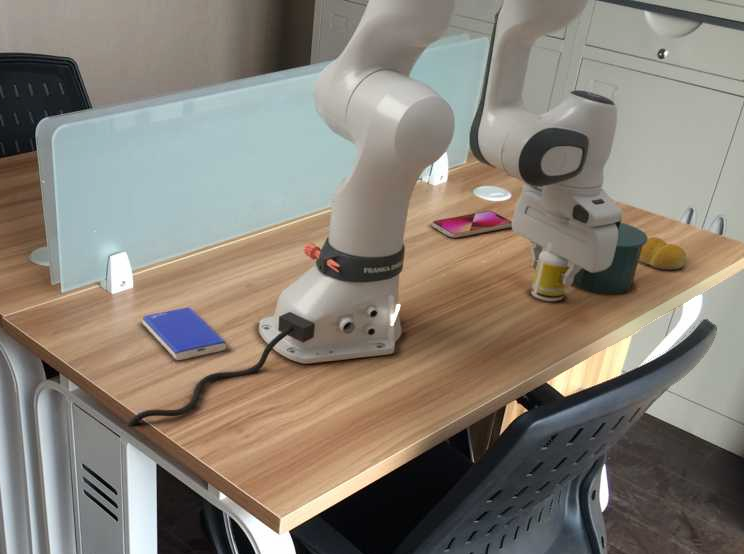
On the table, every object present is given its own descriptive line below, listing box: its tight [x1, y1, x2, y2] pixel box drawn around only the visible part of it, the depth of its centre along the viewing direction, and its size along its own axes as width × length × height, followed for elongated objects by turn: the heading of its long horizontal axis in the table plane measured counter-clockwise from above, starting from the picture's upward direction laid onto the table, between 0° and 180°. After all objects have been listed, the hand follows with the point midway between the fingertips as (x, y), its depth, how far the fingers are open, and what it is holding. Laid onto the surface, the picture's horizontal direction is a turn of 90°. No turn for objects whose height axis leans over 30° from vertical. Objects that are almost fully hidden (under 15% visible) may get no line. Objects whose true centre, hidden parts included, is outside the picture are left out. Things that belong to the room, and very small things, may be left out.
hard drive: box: [142, 307, 227, 361], centre depth 144 cm, size 2×8×12 cm
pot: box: [571, 246, 643, 295], centre depth 165 cm, size 11×11×8 cm
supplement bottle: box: [530, 242, 570, 302], centre depth 159 cm, size 5×5×10 cm
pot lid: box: [615, 217, 648, 249], centre depth 162 cm, size 12×12×4 cm
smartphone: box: [431, 210, 512, 238], centre depth 187 cm, size 7×1×15 cm
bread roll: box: [638, 236, 687, 271], centre depth 175 cm, size 8×9×4 cm
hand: (551, 275), depth 160 cm, fingers closed on supplement bottle, 5 cm apart
